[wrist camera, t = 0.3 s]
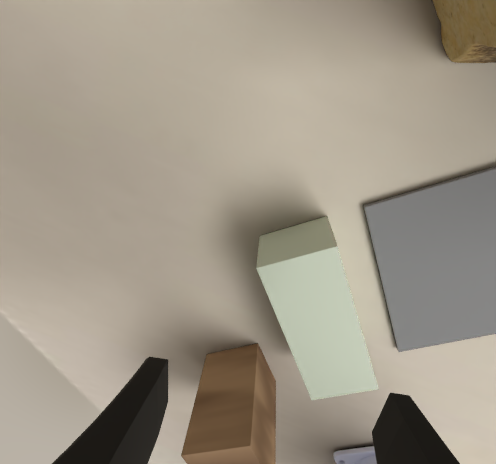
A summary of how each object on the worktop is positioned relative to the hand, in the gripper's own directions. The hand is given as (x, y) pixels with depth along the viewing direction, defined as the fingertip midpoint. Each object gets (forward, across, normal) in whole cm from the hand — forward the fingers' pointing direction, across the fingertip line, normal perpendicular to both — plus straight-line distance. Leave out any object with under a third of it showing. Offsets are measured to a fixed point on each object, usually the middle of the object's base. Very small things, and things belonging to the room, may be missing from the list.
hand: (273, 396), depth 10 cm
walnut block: (+10, +1, +10) cm, 14 cm away
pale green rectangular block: (+10, -3, +3) cm, 11 cm away
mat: (+10, -11, -1) cm, 15 cm away
